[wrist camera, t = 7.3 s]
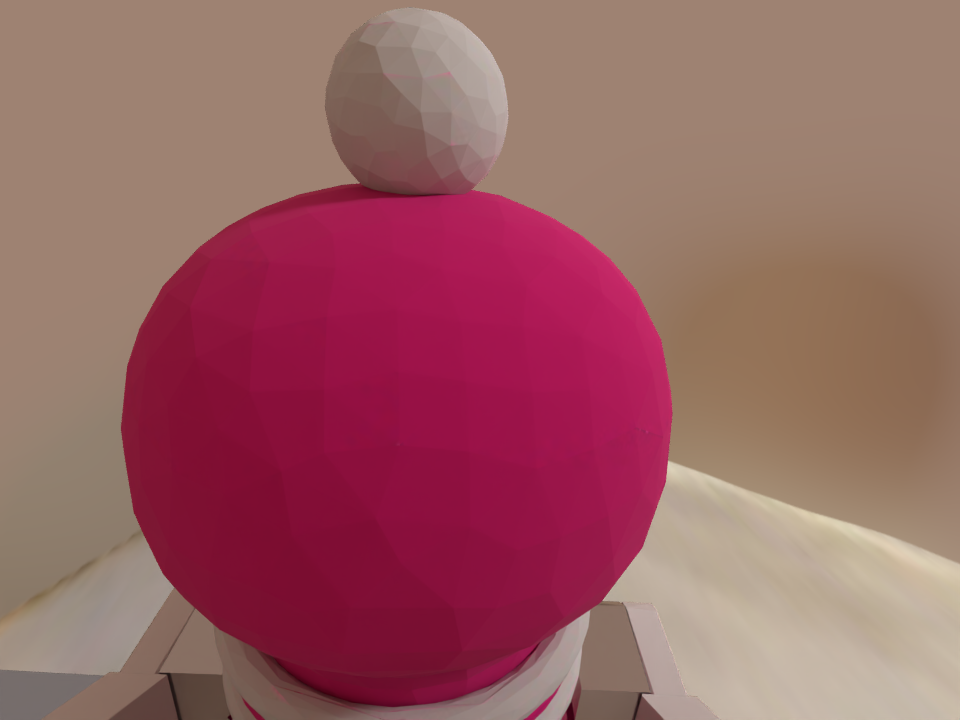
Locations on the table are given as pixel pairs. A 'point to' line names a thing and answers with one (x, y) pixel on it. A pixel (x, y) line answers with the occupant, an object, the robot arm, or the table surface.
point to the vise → (38, 692)
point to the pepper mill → (399, 416)
